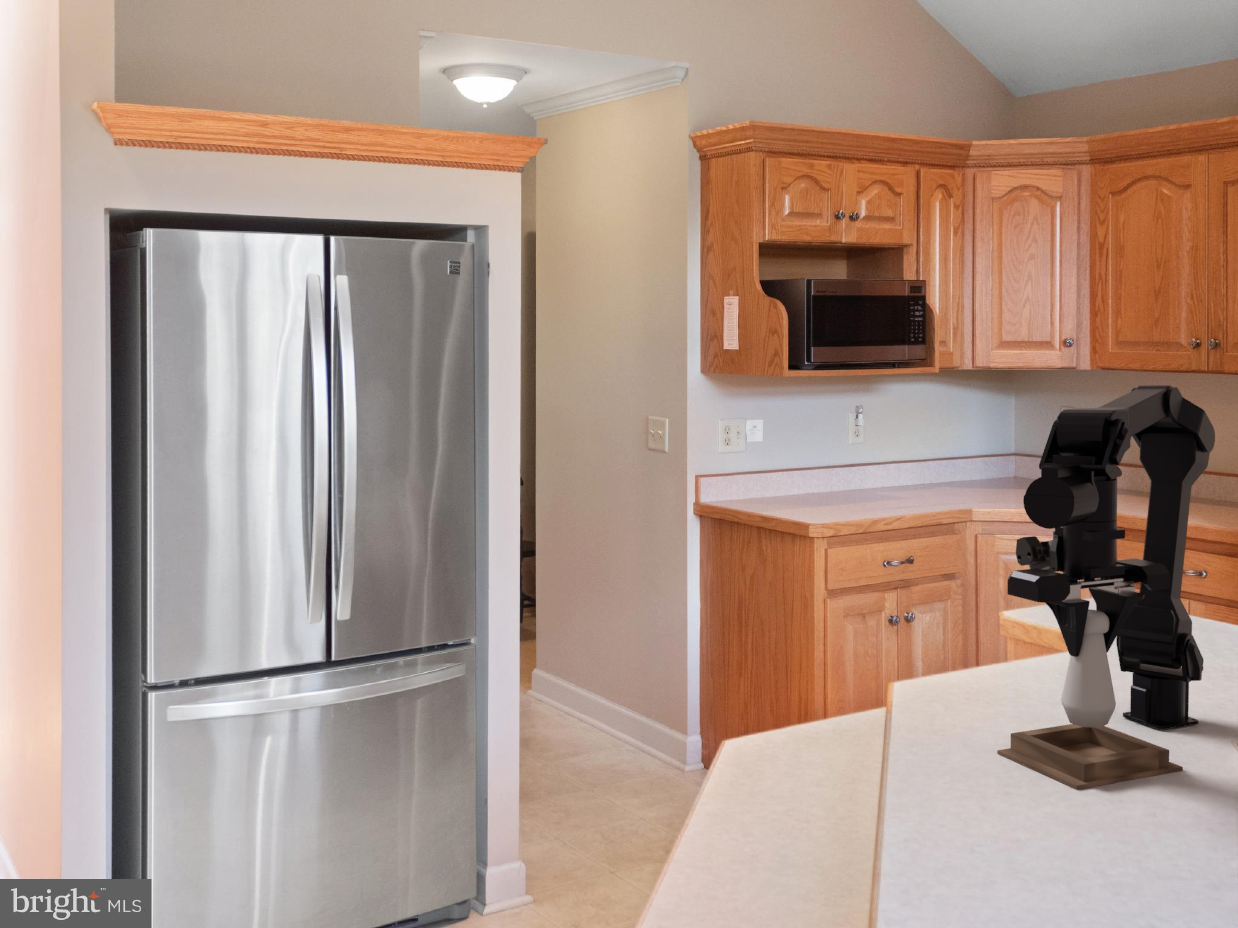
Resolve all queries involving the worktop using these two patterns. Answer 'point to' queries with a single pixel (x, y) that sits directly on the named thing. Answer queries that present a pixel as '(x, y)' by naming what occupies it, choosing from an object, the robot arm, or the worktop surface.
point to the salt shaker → (1090, 677)
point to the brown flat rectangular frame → (1087, 755)
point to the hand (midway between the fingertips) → (1088, 653)
